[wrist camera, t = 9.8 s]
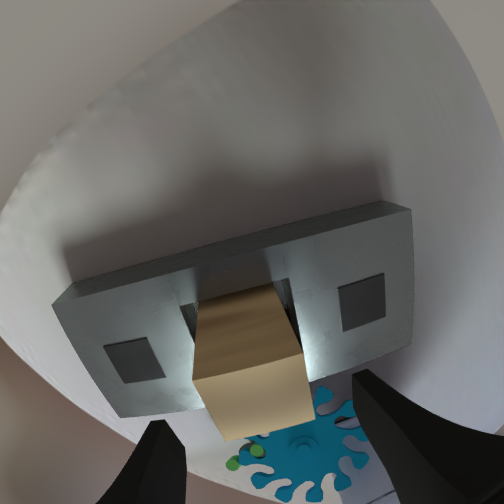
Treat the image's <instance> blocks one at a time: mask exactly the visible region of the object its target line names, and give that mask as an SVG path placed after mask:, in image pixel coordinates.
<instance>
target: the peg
mask: <svg viewBox="0 0 504 504" xmlns="http://www.w3.org/2000/svg"><path fill="white" fill-rule="evenodd" d="M192 382H193V384H194V386H195V388H196V390H197V392H198V393H199V395H200V397H201V399H202V401H203V403H204V405H205V407H206V408H207V410H208V412H209V414H210V416H211V417H212V419H213V421H214V423H215V424H216V426H217V428H218V430H219V431H220V433H221V435H222V437H223V438H224V440H225V441H230V440H235V439H240V438H245V437H250V436H255V435H259V434H263V433H268V432H272V431H276V430H280V429H283V428H287V427H291V426H294V425H298V424H301V423H305V422H308V421H311V420H314V419H315V414H314V408H313V403H312V397H311V392H310V386H309V381H308V376H307V371H306V365H305V360H304V355H303V352H302V349H301V347H300V345H299V343H298V340H297V338H296V336H295V333H294V331H293V329H292V327H291V324H290V322H289V320H288V317H287V315H286V313H285V311H284V308H283V306H282V304H281V301H280V299H279V297H278V295H277V292H276V290H275V288H274V286H273V283H272V282H271V283H267V284H263V285H260V286H256V287H252V288H248V289H245V290H241V291H237V292H233V293H229V294H226V295H222V296H218V297H214V298H210V299H206V300H202V301H199V305H198V315H197V325H196V336H195V348H194V360H193V373H192Z"/></svg>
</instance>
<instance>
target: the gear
mask: <svg viewBox="0 0 504 504" xmlns="http://www.w3.org/2000/svg"><path fill="white" fill-rule="evenodd" d="M333 395H334V394H333V393H332V392H331V391H330V390H329V389H327V388H325V387H323V386H320V387H319V388H318V389H317V390H316V395H315V399H314V401H313V408H314V414H315V419H314V420H311V421H308V422H305V423H301V424H298V425H294V426H291V427H287V428H283V429H280V430H276V431H272V432H270V434H269V436H268V437H261V436H260V435H255V436H250V437H245V438H244V439H250V440H253V441H255V442H251V443H246V444H244V445H243V446H242V447H241V448H240V450H239V456H238V455H235V456H233V457H231V458H230V459H229V460H228V461H227V462H226V467H227V468H228V469H229V470H231V471H235V470H237V469H238V468H239V467H240V466H241V465H244V466H246V465H250V464H263V465H267V466H270V467H272V468H273V469H274V473H273V474H266V473H263V472H256V473H254V474H253V475H252V477H251V481H252V483H253V485H254V486H255V488H256V489H261V488H264V487H265V486H266V485H267V484H268V483H270V482H271V481H274V480H277V479H284V478H287V479H290V480H291V481H292V484H291V485H288V486H282V487H280V488H278V489H277V491H276V493H275V497H276V498H277V499H279V500H281V501H283V502H285V503H287V502H289V501H290V500H291V499H292V495H293V492H294V491H295V489H296V488H297V487H298V486H299V485H301V484H302V483H304V482H305V481H312V482H314V484H315V485H314V486H313V487H312V488H310V489H309V490H308V491H307V493H306V501H308V502H321V501H322V499H323V491H322V489H321V482H322V480H323V477H324V476H325V475H326V474H328V473H334V474H336V478H335V480H334V488H335V490H336V491H342V490H345V489H347V488H348V487H350V486H352V482H351V479H350V477H349V476H347V475H345V474H344V473H343V472H342V471H341V470H340V468H339V464H338V462H339V460H340V458H342V457H344V456H349V457H351V459H352V463H353V466H354V467H355V468H356V469H362V468H363V467H364V466H365V465H366V464H367V462H368V461H369V459H370V457H369V456H368V454H367V453H366V452H358V451H353V450H351V449H349V448H347V447H346V446H345V445H344V444H343V439H344V438H345V437H346V436H348V435H352V436H354V437H356V438H357V439H358V440H359V441H361V442H366V441H368V438H367V437H366V435H365V433H364V431H363V430H362V428H361V425H359V426H357V427H354V428H341V427H337V426H335V424H334V421H335V419H336V418H337V417H339V416H345V417H354V416H356V414H355V411H354V409H353V400H352V399H350V400H347V401H345V402H344V403H343V404H342V406H341V407H340V408H339V409H338V410H336V411H335V412H333V413H330V414H326V415H319V414H318V413H317V412H316V408H317V406H318V405H320V404H323V403H326V402H329V401H330V400H331V399H332V398H333Z"/></svg>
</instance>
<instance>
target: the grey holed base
mask: <svg viewBox="0 0 504 504" xmlns="http://www.w3.org/2000/svg"><path fill="white" fill-rule="evenodd" d="M278 280H282V282H283V287H284V291H285V296H286V301H287V305H288V310H289V315H290V320H291V324H292V329H293V331H294V333H295V336H296V338H297V340H298V343H299V345H300V347H301V349H302V352H303V355H304V360H305V365H306V371H307V376H308V381H309V382H311V381H314V380H318V379H321V378H324V377H327V376H330V375H333V374H336V373H339V372H341V371H344V370H347V369H350V368H353V367H355V366H358V365H361V364H363V363H366V362H368V361H371V360H374V359H376V358H379V357H381V356H383V355H386V354H388V353H391V352H393V351H395V350H398V349H400V348H402V347H404V346H407V345H409V344H411V339H412V325H413V305H414V251H413V230H412V216H411V209H409V208H406V207H403V206H399V205H396V204H393V203H390V202H387V201H384V200H383V201H379V202H375V203H370V204H366V205H362V206H358V207H354V208H350V209H346V210H342V211H338V212H334V213H330V214H326V215H322V216H318V217H314V218H310V219H306V220H302V221H298V222H294V223H290V224H287V225H283V226H279V227H275V228H271V229H267V230H263V231H260V232H256V233H252V234H248V235H244V236H241V237H237V238H233V239H229V240H226V241H222V242H218V243H214V244H211V245H207V246H203V247H200V248H196V249H192V250H189V251H185V252H181V253H178V254H174V255H170V256H167V257H163V258H160V259H156V260H152V261H149V262H145V263H142V264H138V265H135V266H131V267H128V268H124V269H121V270H117V271H114V272H110V273H107V274H103V275H100V276H96V277H93V278H90V279H86V280H83V281H79V282H76V283H72V284H71V285H70V286H69V287H68V288H67V289H66V290H65V291H64V292H63V293H62V294H61V295H60V296H59V297H58V298H57V300H56V301H55V302H54V303H53V304H52V307H53V310H54V312H55V314H56V316H57V318H58V320H59V322H60V324H61V325H62V327H63V329H64V331H65V333H66V335H67V337H68V339H69V340H70V342H71V344H72V346H73V347H74V349H75V351H76V353H77V354H78V356H79V358H80V359H81V361H82V363H83V364H84V366H85V368H86V369H87V371H88V372H89V374H90V376H91V377H92V379H93V380H94V382H95V383H96V385H97V386H98V388H99V389H100V391H101V392H102V394H103V395H104V397H105V398H106V399H107V401H108V402H109V404H110V405H111V406H112V408H113V409H114V410H115V412H116V413H117V414H118V416H119V417H120V418H127V417H139V416H148V415H157V414H165V413H173V412H180V411H187V410H193V409H199V408H205V405H204V403H203V401H202V399H201V397H200V395H199V393H198V392H197V390H196V388H195V386H194V384H193V382H192V373H193V360H194V348H195V336H196V325H197V314H196V312H195V309H194V306H193V304H192V303H194V302H198V301H202V300H206V299H210V298H214V297H218V296H222V295H226V294H229V293H233V292H237V291H241V290H245V289H248V288H252V287H256V286H260V285H263V284H267V283H271V282H274V281H278Z"/></svg>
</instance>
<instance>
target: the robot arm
mask: <svg viewBox="0 0 504 504" xmlns="http://www.w3.org/2000/svg"><path fill="white" fill-rule="evenodd" d="M352 392H353V409H354V411H355V414H356V417H353V418H351V419H348V420H345V421H342V422H340V423H337V424H335V426H337V427H341V428H354V427H357V426H359V425H361V428H362V430H363V431H364V433H365V435H366V437H367V438H368V441H366V442H361V441H359V440H358V439H357V438H356V437H354V436H352V435H348V436H346V437H345V438H344V439H343V444H344V445H345V446H346V447H347V448H349V449H351V450H353V451H358V452H366V453H367V454H368V456H369V457H370V459H369V461H368V462H367V464H366V465H365V466H364V467H363V468H362V469H356V468H355V467H354V466H353V463H352V459H351V457H349V456H344V457H342V458H340V460H339V462H338V464H339V468H340V470H341V471H342V472H343V473H344V474H345V475H347V476H349V477H350V479H351V482H352V486H350V487H348V488H347V489H345V490H342V491H338V492H339V495H340V498H341V500H342V503H343V504H504V436H500V435H494V434H489V433H485V432H481V431H478V430H474V429H471V428H467V427H464V426H461V425H458V424H456V423H453V422H451V421H448V420H446V419H444V418H442V417H440V416H437V415H435V414H433V413H432V412H430V411H428V410H426V409H424V408H422V407H421V406H419V405H417V404H416V403H414V402H412V401H411V400H409V399H408V398H406V397H405V396H403V395H402V394H400V393H399V392H397V391H396V390H395V389H393V388H392V387H390V386H389V385H388V384H386V383H385V382H384V381H382V380H381V379H380V378H379V377H377V376H376V375H375V374H374V373H372V372H371V371H370V370H368V369H364V370H362V371H359V372H357V373H354V374H352ZM186 476H187V465H186V453H185V447H184V446H183V444H182V443H181V442H180V440H179V439H178V437H177V436H176V435H175V433H174V432H173V430H172V429H171V428H170V426H169V425H168V423H167V422H166V420H165V419H164V420H155V421H151V422H150V423H149V425H148V427H147V428H146V430H145V432H144V434H143V435H142V437H141V439H140V441H139V442H138V444H137V446H136V448H135V449H134V451H133V453H132V455H131V456H130V458H129V459H128V461H127V463H126V464H125V466H124V468H123V469H122V471H121V472H120V474H119V475H118V476H117V478H116V479H115V481H114V482H113V484H112V485H111V486H110V488H109V489H108V490H107V491H106V493H105V494H104V495H103V496H102V497H101V498H100V500H99V501H98V502H97V503H96V504H185V498H186ZM332 476H333V479H334V480H335V478H336V474H334V473H332Z"/></svg>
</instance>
